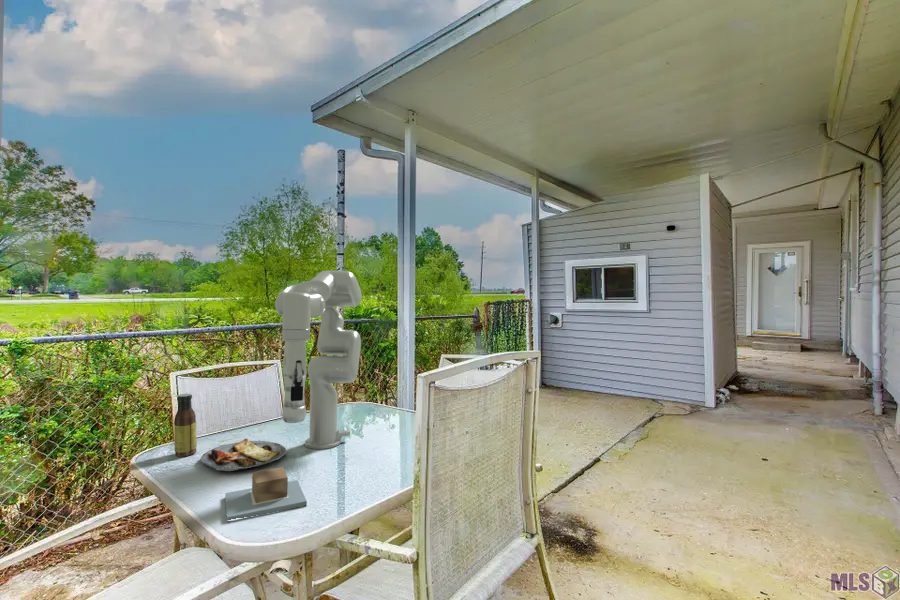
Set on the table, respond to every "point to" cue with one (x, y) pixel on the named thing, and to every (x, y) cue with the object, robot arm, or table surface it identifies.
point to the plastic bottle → (293, 402)
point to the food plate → (243, 455)
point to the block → (269, 484)
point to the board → (245, 505)
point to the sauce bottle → (185, 427)
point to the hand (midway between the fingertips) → (294, 397)
